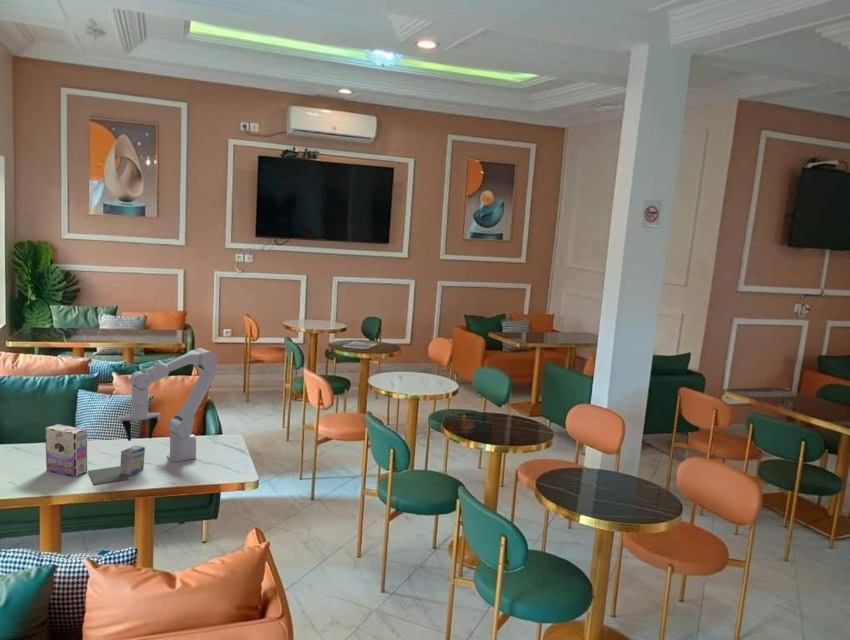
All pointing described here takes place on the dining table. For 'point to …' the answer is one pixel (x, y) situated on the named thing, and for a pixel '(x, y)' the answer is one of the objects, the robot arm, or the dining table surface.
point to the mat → (106, 475)
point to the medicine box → (132, 460)
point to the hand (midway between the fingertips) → (139, 438)
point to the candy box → (66, 450)
